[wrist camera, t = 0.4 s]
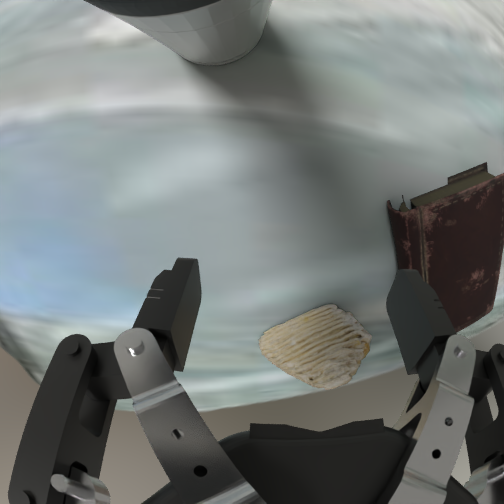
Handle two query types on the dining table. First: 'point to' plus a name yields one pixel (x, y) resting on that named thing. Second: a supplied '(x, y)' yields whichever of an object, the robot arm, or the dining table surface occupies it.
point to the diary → (455, 242)
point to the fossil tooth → (318, 346)
